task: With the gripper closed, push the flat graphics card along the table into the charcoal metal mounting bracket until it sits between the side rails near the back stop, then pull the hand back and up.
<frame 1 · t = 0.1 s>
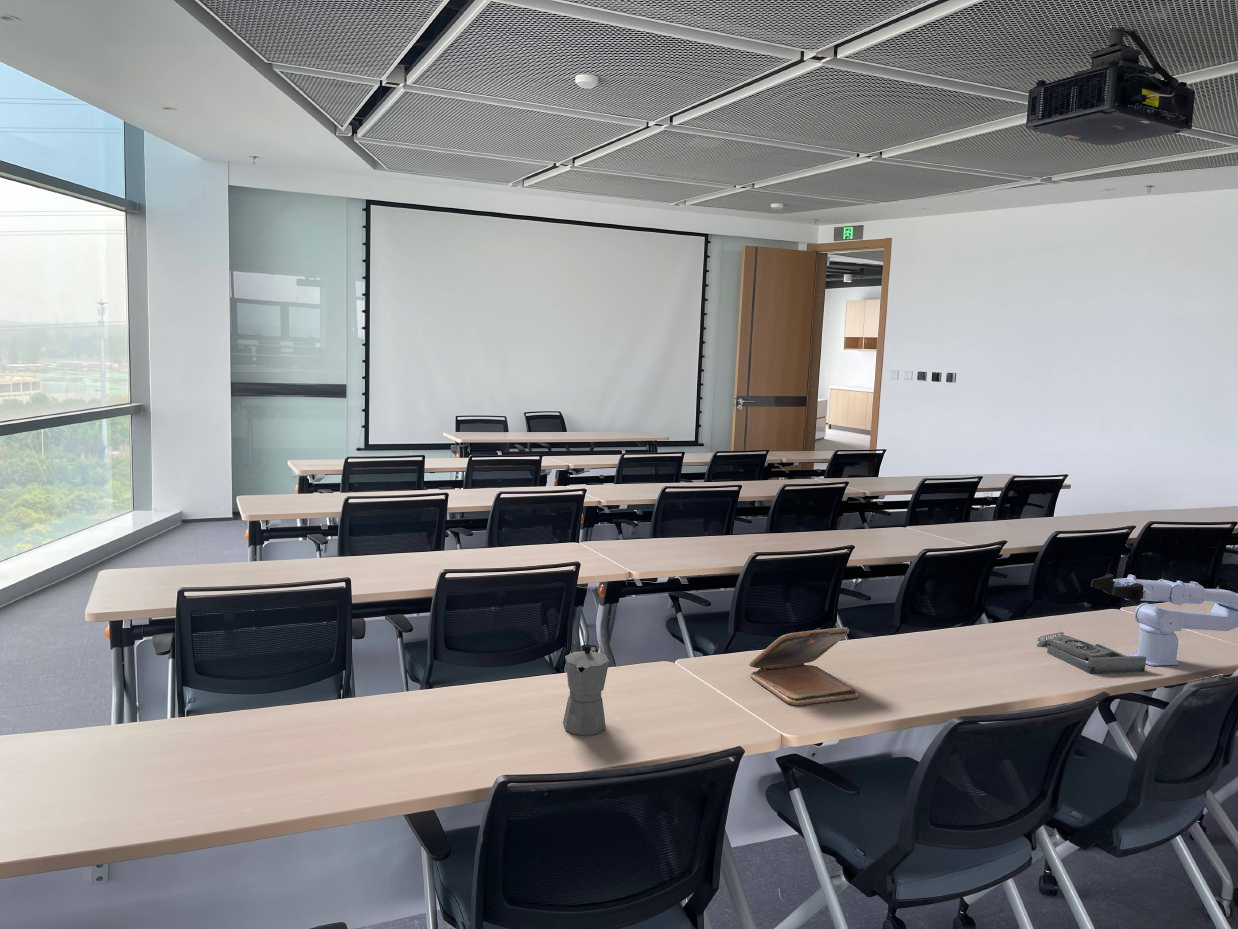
hand: (1102, 587, 227), 22 cm above the table, tool horizontal, fingers open, 7 cm apart
coffeepot: (585, 725, 176), on the table
mounting bracket: (1097, 663, 230), on the table
case: (802, 687, 203), on the table
graphics card: (1072, 654, 239), on the table
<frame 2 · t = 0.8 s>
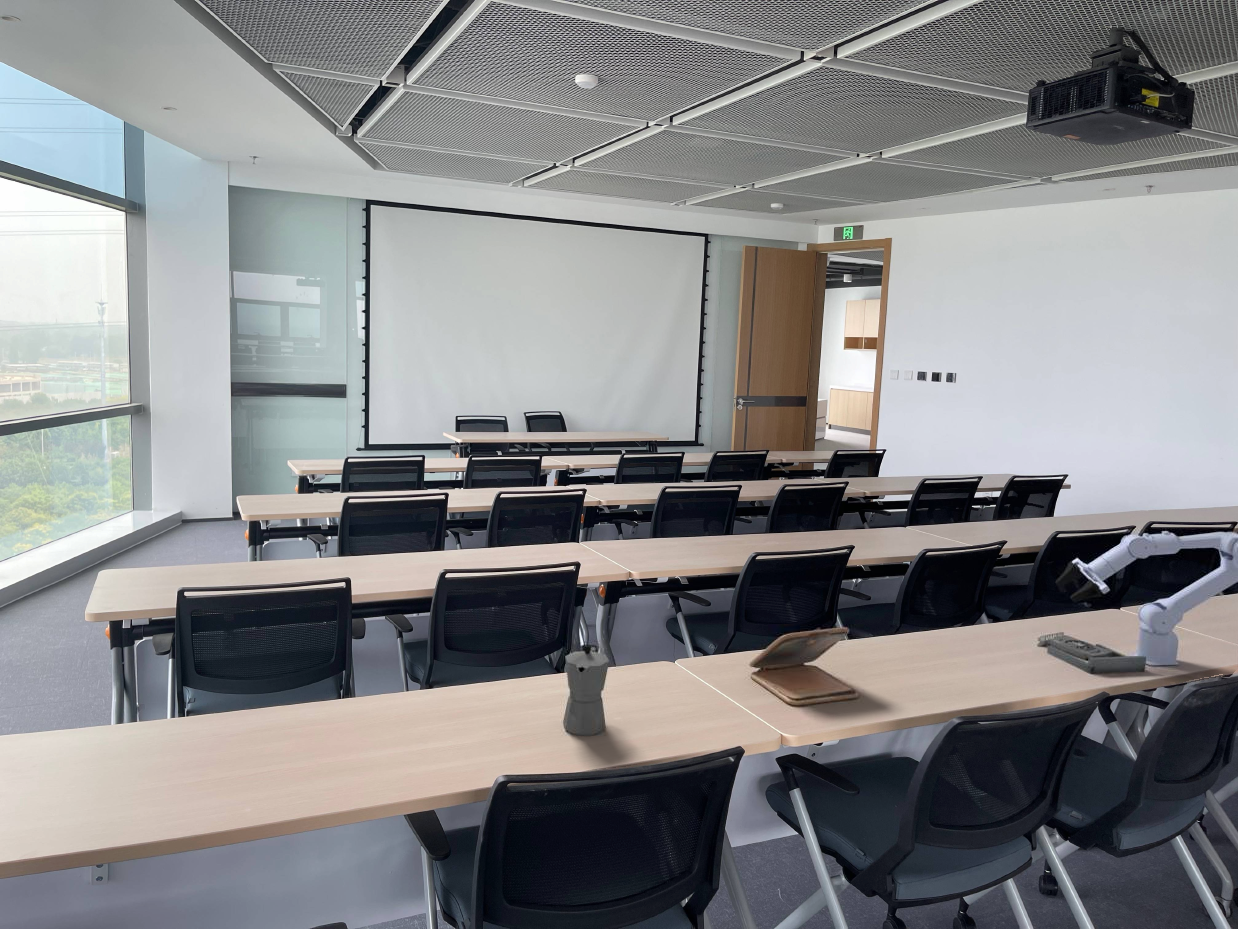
hand: (1064, 592, 237), 17 cm above the table, tool tilted 50°, fingers open, 7 cm apart
nothing on the table moved.
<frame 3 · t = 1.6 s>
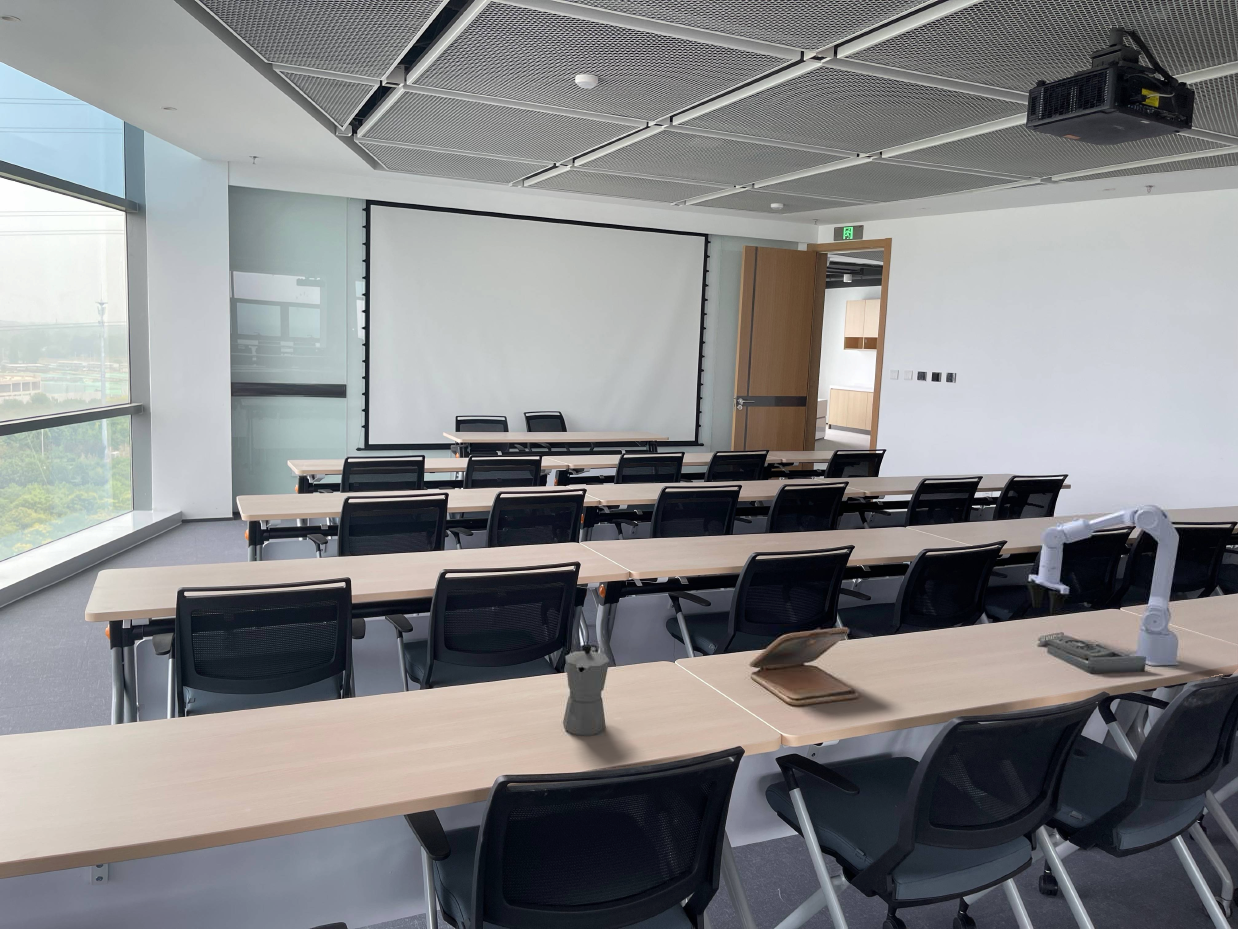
hand: (1045, 610, 250), 8 cm above the table, tool pointing down, fingers open, 7 cm apart
nothing on the table moved.
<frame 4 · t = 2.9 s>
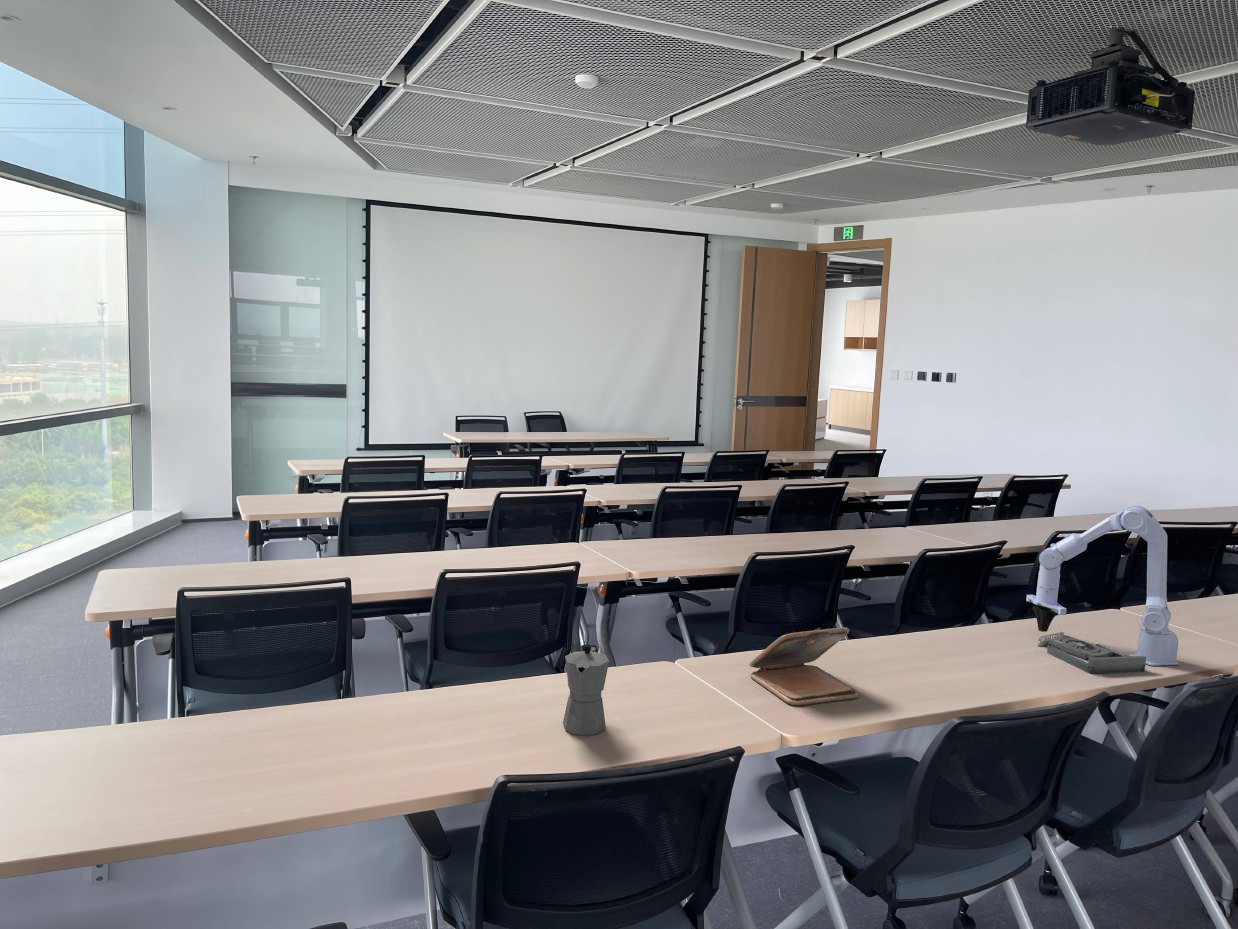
hand: (1042, 631, 251), 2 cm above the table, tool pointing down, fingers closed
nothing on the table moved.
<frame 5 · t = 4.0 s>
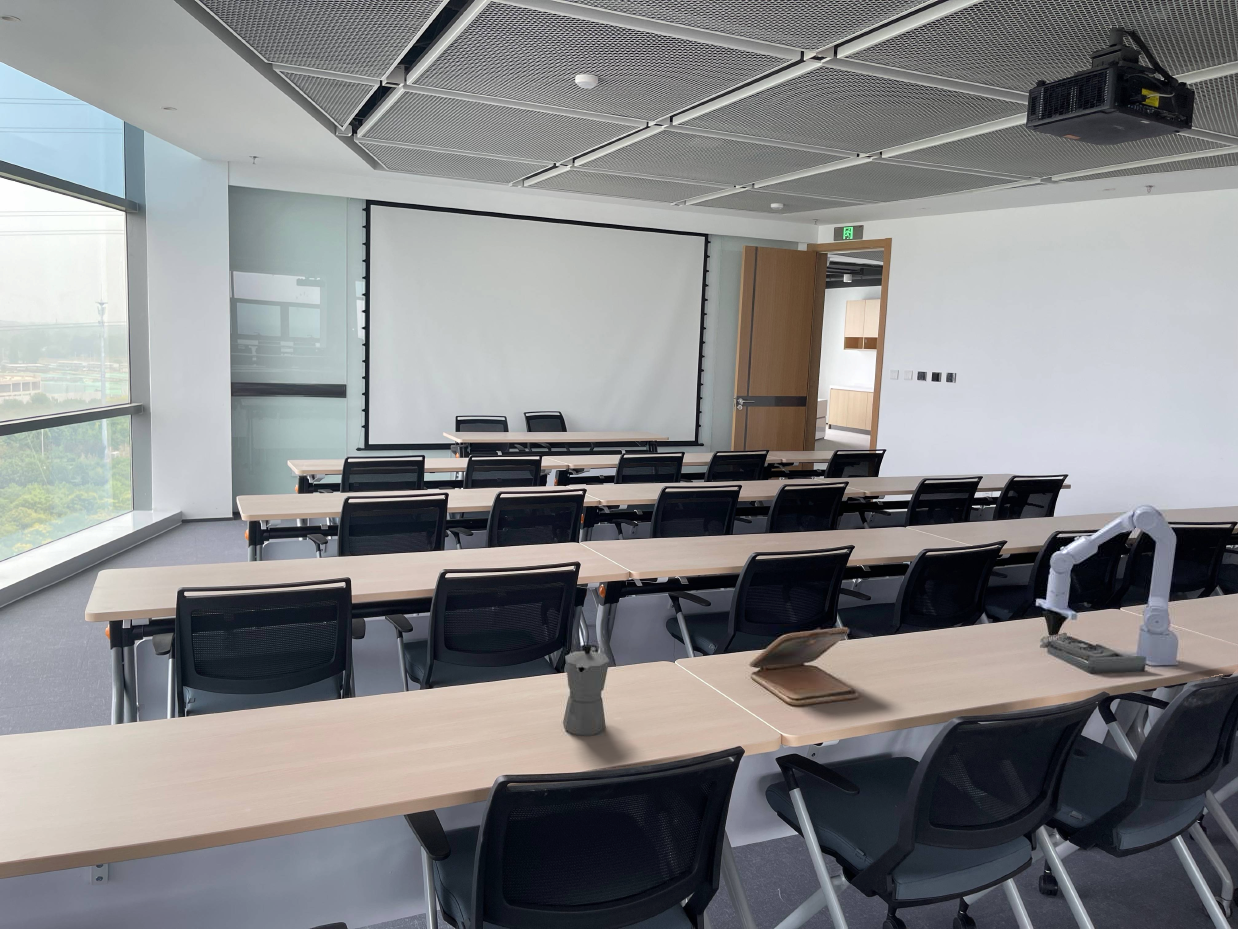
hand: (1052, 635, 247), 2 cm above the table, tool pointing down, fingers closed
graphics card: (1076, 655, 238), on the table, touching gripper
everything else where it was.
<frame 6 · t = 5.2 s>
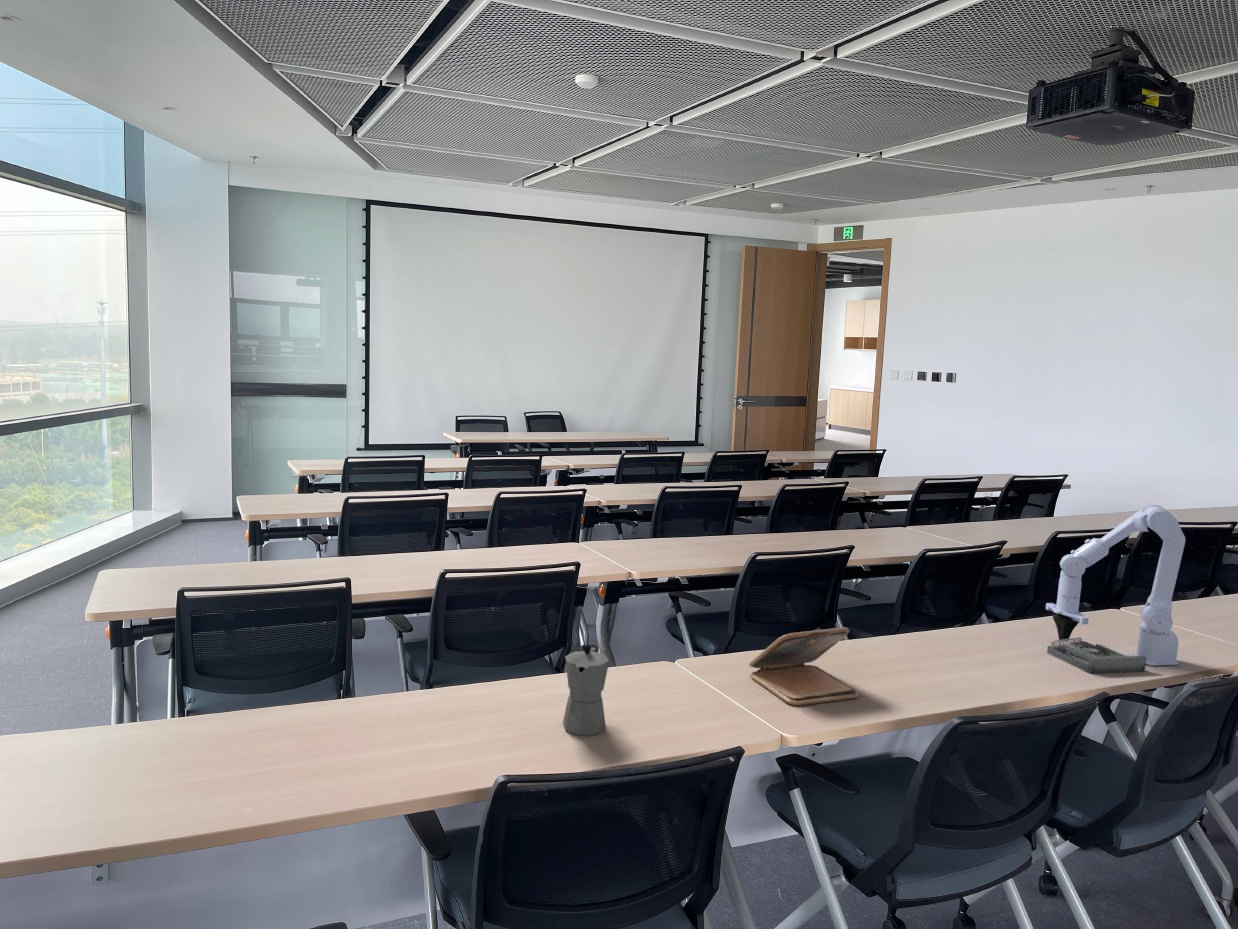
hand: (1063, 640, 243), 2 cm above the table, tool pointing down, fingers closed
graphics card: (1087, 660, 234), on the table
everything else where it was.
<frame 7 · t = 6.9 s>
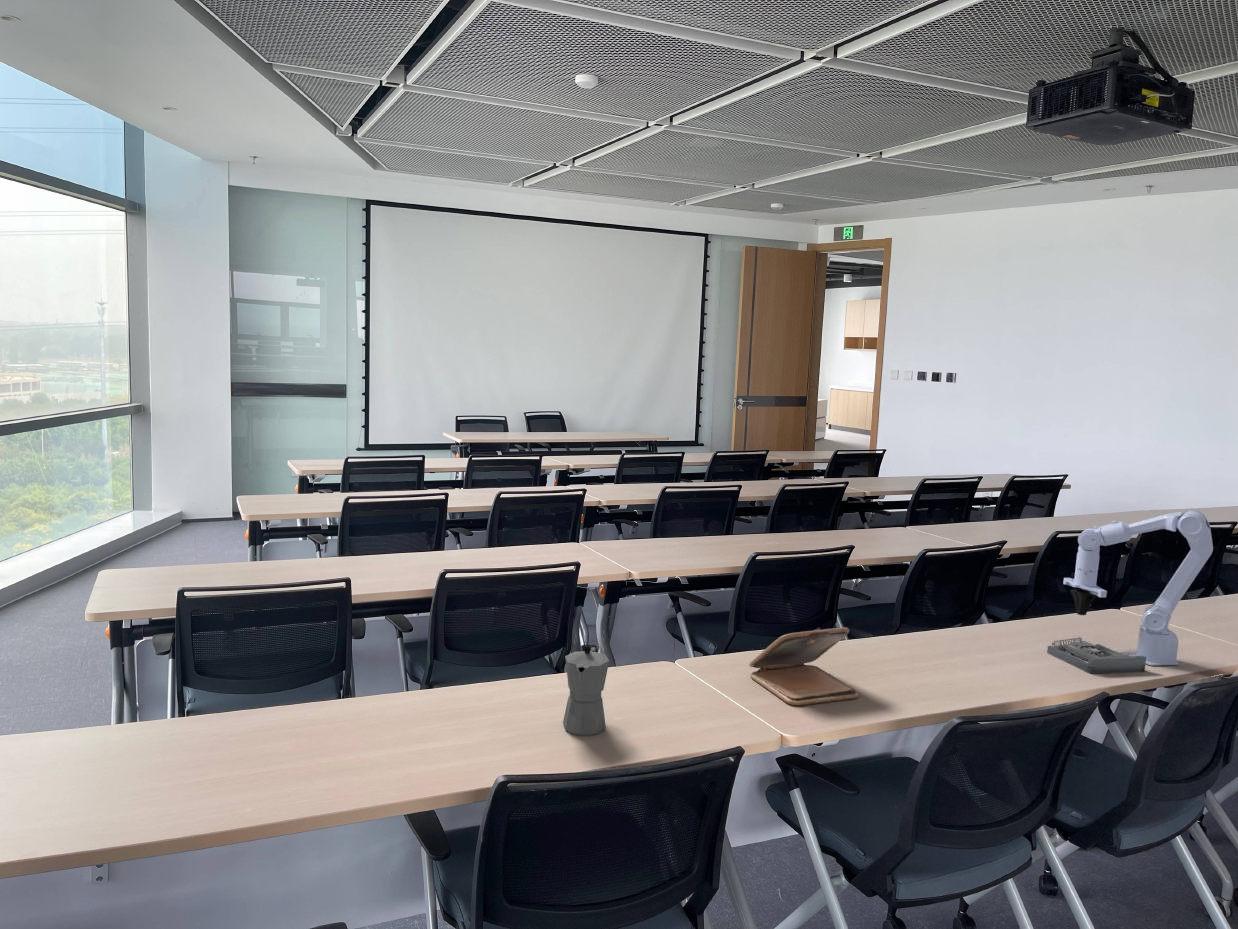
hand: (1081, 614, 244), 9 cm above the table, tool pointing down, fingers closed
nothing on the table moved.
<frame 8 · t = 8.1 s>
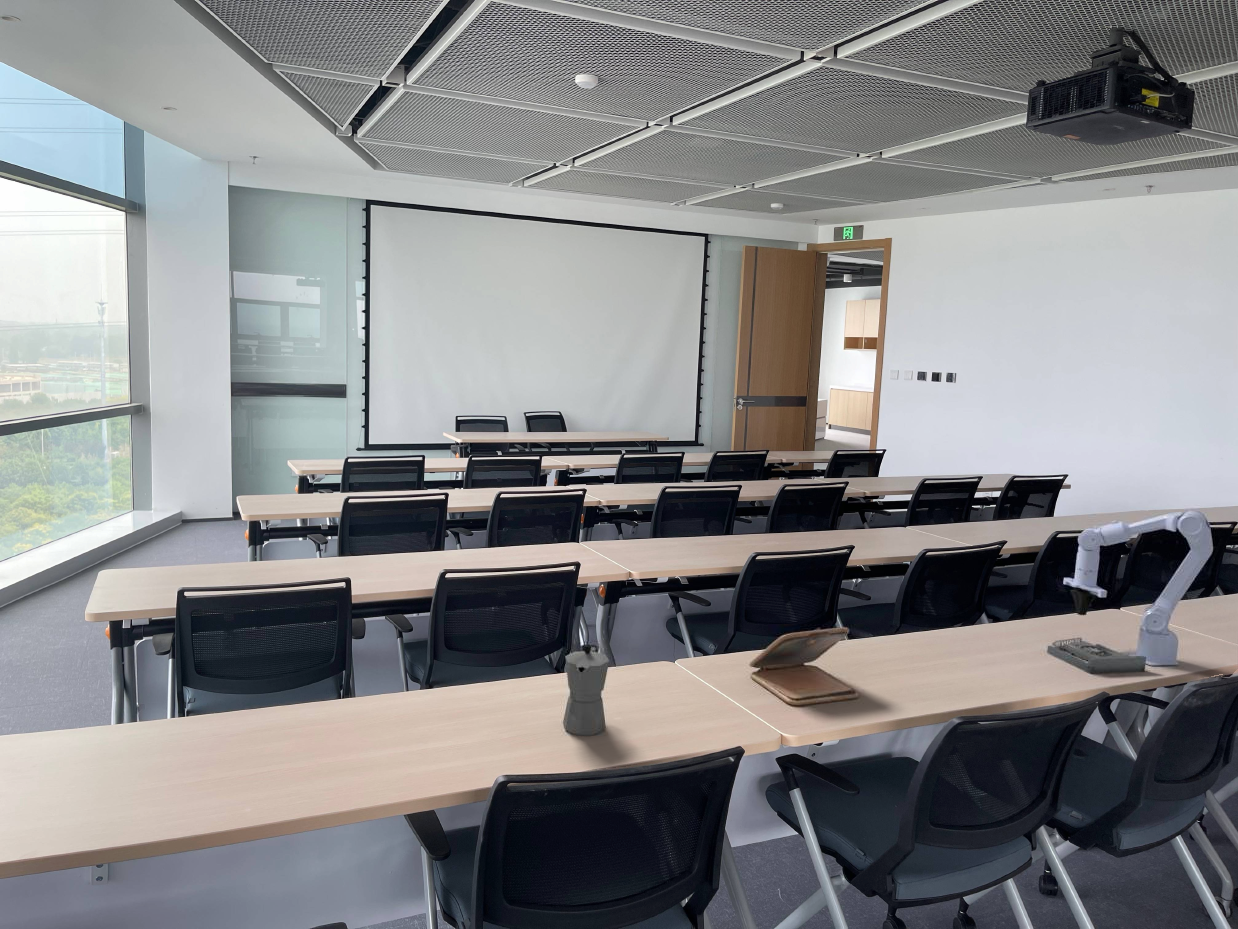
hand: (1081, 614, 244), 9 cm above the table, tool pointing down, fingers closed
nothing on the table moved.
at the end: graphics card 1.0 cm from the target spot on the mounting bracket, point -0.8 cm above the mounting bracket's base; graphics card moved 4.8 cm from its start; graphics card tilted 0° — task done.
